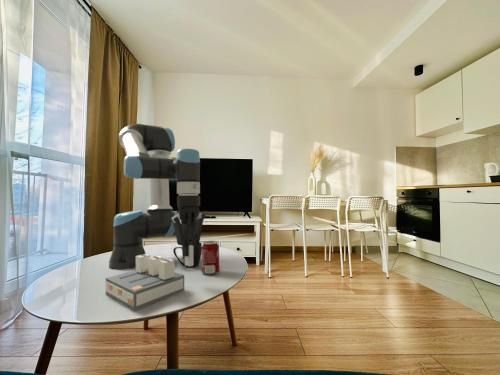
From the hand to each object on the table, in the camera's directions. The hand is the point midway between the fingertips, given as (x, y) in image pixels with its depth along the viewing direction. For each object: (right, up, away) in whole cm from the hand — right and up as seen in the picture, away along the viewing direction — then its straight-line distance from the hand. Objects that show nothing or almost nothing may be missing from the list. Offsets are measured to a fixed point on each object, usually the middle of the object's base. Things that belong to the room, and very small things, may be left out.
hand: (189, 265), depth 80 cm
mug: (-6, -8, +22) cm, 24 cm away
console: (-12, -7, -5) cm, 15 cm away
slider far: (-15, -2, 0) cm, 15 cm away
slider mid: (-10, -2, -3) cm, 11 cm away
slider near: (-5, -2, -7) cm, 9 cm away
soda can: (+5, -8, +13) cm, 16 cm away
